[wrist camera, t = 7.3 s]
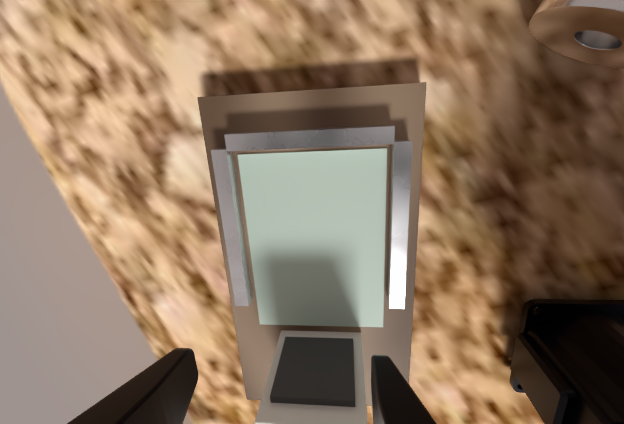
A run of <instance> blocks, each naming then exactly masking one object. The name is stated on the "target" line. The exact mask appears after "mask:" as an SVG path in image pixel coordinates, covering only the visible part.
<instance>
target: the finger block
mask: <svg viewBox="0 0 624 424" xmlns="http://www.w3.org/2000/svg"><path fill="white" fill-rule="evenodd" d="M255 424H368V422H367V408H366V394H365V380H364V365H363V351H362V337H361V332H324V331H285V330H281V333H280V336H279V340H278V343H277V347H276V350H275V354H274V357H273V360H272V364H271V367H270V371H269V374H268V378H267V381H266V385H265V388H264V392H263V395H262V399H261V402H260V406H259V409H258V413H257V416H256V419H255Z"/></svg>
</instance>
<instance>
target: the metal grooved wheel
mask: <svg viewBox="0 0 624 424" xmlns="http://www.w3.org/2000/svg"><path fill="white" fill-rule="evenodd" d="M529 29H530V32H531V33H532V35H533V36H534V37H535V38H536V39H537V40H538V41H539V42H540V43H541V44H543V45H544V46H546V47H547V48H549V49H551V50H553V51H555V52H557V53H559V54H561V55H564V56H566V57H569V58H572V59H575V60H578V61H582V62H585V63H589V64H594V65H599V66H604V67H611V68H621V69H624V0H542V1H541V3H540V5H539V6H538V8H537V10H536V11H535V13H534V15H533V16H532V18H531V20H530V22H529Z"/></svg>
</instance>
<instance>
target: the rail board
mask: <svg viewBox="0 0 624 424" xmlns="http://www.w3.org/2000/svg"><path fill="white" fill-rule="evenodd" d="M425 97H426V82H423V83H407V84H392V85H377V86H362V87H347V88H331V89H316V90H301V91H286V92H271V93H255V94H240V95H225V96H210V97H198V104H199V110H200V116H201V122H202V128H203V134H204V140H205V146H206V152H207V159H208V165H209V171H210V177H211V183H212V189H213V195H214V201H215V208H216V214H217V220H218V226H219V232H220V238H221V244H222V250H223V256H224V263H225V269H226V275H227V281H228V287H229V293H230V299H231V305H232V312H233V318H234V324H235V330H236V336H237V342H238V348H239V354H240V360H241V367H242V373H243V379H244V385H245V391H246V397H247V399H249V400H261V399H262V395H263V392H264V388H265V385H266V381H267V378H268V374H269V371H270V367H271V364H272V360H273V357H274V354H275V350H276V347H277V343H278V340H279V336H280V333H281V330H285V331H324V332H361V337H362V351H363V365H364V380H365V394H366V406H372V393H371V357H372V356H373V355H387V356H389V357H390V358H391V360H392V361H393V363H394V364H395V365H396V367H397V368H398V370H399V371H400V372H401V374H402V375H403V377H404V378H405V380H406V381H407V382H408V384H409V370H410V353H411V336H412V319H413V302H414V285H415V268H416V251H417V234H418V217H419V200H420V183H421V166H422V149H423V132H424V115H425ZM379 125H393V126H395V138H394V140H396V139H409V140H411V141H412V160H411V181H410V202H409V223H408V244H407V264H406V285H405V306H404V309H393V308H389V304H388V300H387V284H388V246H389V208H390V170H391V144H386V145H363V146H340V147H317V148H294V149H272V150H249V151H234V155H235V163H236V170H237V177H238V185H239V192H240V200H241V207H242V214H243V222H244V229H245V237H246V244H247V251H248V259H249V266H250V274H251V281H252V288H253V298H252V300H251V302H250V304H249V306H235V300H234V294H233V288H232V281H231V275H230V269H229V263H228V256H227V250H226V244H225V237H224V231H223V225H222V218H221V212H220V206H219V200H218V193H217V187H216V181H215V174H214V168H213V162H212V155H211V150H213V149H216V148H220V147H226V144H225V137H224V135H225V134H229V133H241V132H261V131H281V130H300V129H320V128H340V127H359V126H379Z"/></svg>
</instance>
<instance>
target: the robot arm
mask: <svg viewBox="0 0 624 424" xmlns="http://www.w3.org/2000/svg"><path fill="white" fill-rule="evenodd" d="M536 307H538V308H537V309H536V310H533V309H534V308H536ZM510 369H511V376H510V384H511V386H512V387H513V389H514V390H515V391H516V392H520V393H526V395H527V396H528V398H529V399H530V401H531V402H532V404H533V406H534V407H535V409H536V410H537V412H538V414H539V415H540V417H541V418H542V420H543V422H544V423H545V424H624V300H565V299H532V300H529V301H528V302H526V303H525V305H524V309H523V314H522V319H521V325H520V330H519V334H518V335H517V337H516V341H515V346H514V351H513V356H512V362H511V367H510ZM197 380H198V370H197V365H196V361H195V356H194V352H193V350H192V349H190V348H176V349H174V350H172V351H171V352H170V353H168V354H167V355H165V356H164V357H162V358H161V359H160V360H158V361H157V362H155V363H154V364H152V365H151V366H149V367H148V368H147V369H145V370H144V371H142V372H141V373H139V374H138V375H136V376H135V377H134V378H132V379H131V380H129V381H128V382H126V383H125V384H124V385H122V386H121V387H119V388H118V389H116V390H115V391H113V392H112V393H111V394H109V395H108V396H106V397H105V398H104V399H102V400H100V401H99V402H98V403H96V404H95V405H93V406H92V407H90V408H89V409H88V410H86V411H85V412H83V413H82V414H81V415H79V416H77V417H76V418H75V419H73V420H72V421H70V422H69V423H68V424H183V421H184V418H185V416H186V413H187V410H188V407H189V404H190V401H191V398H192V396H193V393H194V390H195V387H196V384H197ZM371 393H372V409H373V424H436V422H435V421H434V419H433V418H432V417H431V415H430V414H429V412H428V411H427V409H426V408H425V407H424V405H423V404H422V402H421V401H420V400H419V398H418V397H417V395H416V394H415V392H414V391H413V390H412V388H411V387H410V385H409V384H408V382H407V381H406V380H405V378H404V377H403V375H402V374H401V372H400V371H399V370H398V368H397V367H396V365H395V364H394V363H393V361H392V360H391V358H390V357H389V356H387V355H373V356H372V357H371Z"/></svg>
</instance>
